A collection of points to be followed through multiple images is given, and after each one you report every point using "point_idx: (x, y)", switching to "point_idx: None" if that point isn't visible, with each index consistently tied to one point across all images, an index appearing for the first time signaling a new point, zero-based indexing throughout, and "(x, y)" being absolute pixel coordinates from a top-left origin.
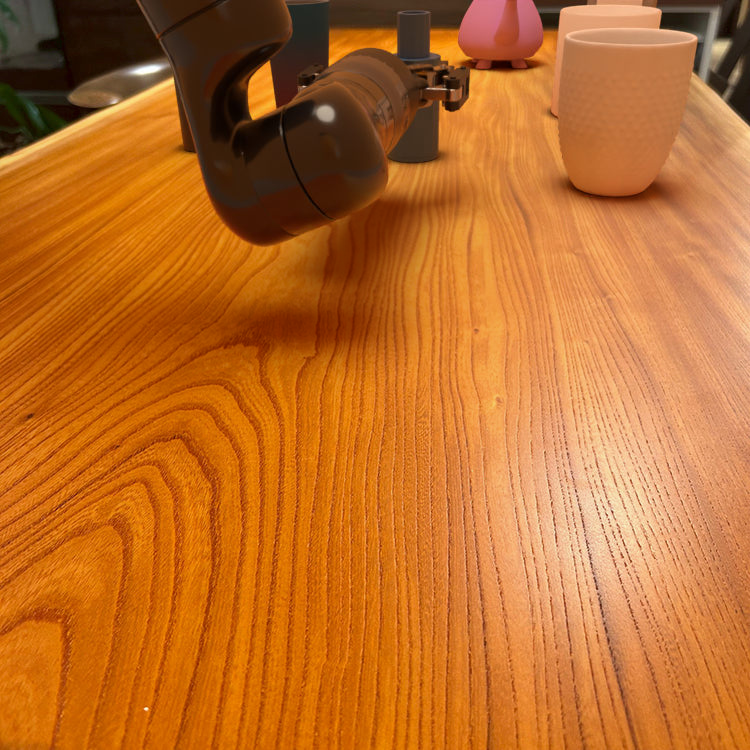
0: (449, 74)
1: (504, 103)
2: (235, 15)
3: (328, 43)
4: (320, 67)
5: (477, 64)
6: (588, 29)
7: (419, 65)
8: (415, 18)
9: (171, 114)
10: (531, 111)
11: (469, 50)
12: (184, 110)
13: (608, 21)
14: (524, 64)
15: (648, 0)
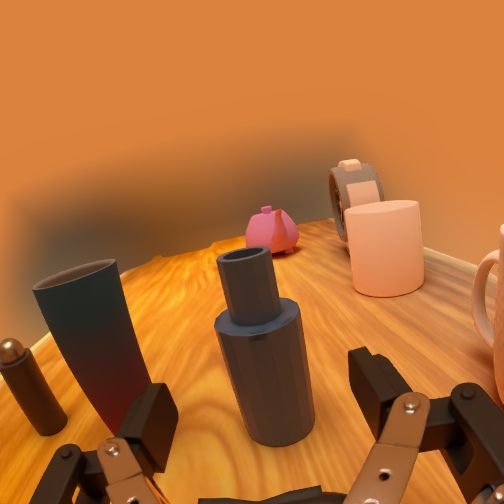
0: (437, 422)
1: (310, 289)
2: None
3: (126, 318)
4: (70, 472)
5: None
6: (501, 228)
7: (394, 483)
8: (251, 264)
9: (52, 358)
10: (340, 294)
11: None
12: (17, 401)
13: (398, 214)
14: (292, 250)
15: (381, 197)
